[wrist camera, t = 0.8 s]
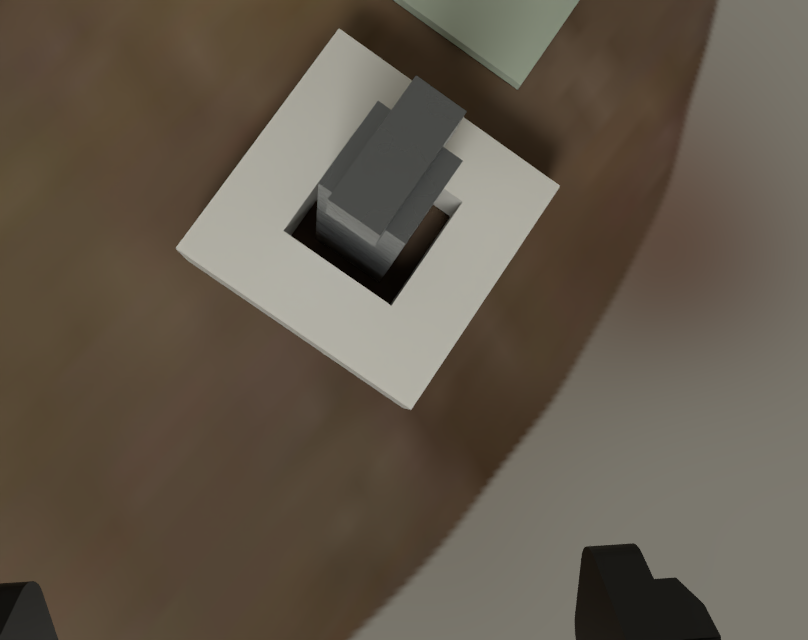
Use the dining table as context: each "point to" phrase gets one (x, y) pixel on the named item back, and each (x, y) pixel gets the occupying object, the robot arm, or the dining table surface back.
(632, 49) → the dining table surface
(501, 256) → the key socket
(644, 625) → the robot arm
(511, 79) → the sage mat
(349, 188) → the t-key
